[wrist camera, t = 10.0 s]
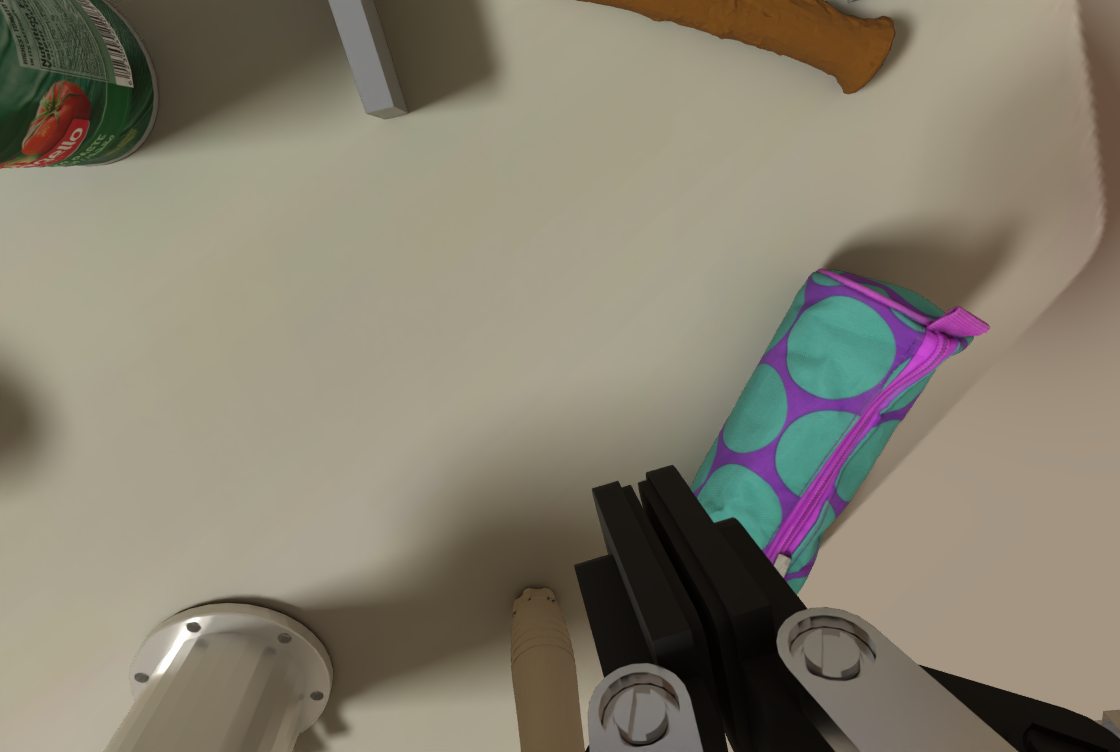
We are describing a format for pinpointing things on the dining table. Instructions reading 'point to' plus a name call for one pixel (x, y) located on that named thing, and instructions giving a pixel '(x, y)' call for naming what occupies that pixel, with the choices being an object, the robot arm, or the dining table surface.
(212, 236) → the dining table surface
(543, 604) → the handle
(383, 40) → the box
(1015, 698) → the robot arm
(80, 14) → the canned tomato
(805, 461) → the pencil case
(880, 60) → the primitive tool
